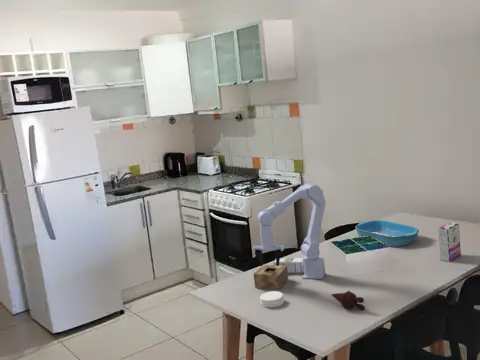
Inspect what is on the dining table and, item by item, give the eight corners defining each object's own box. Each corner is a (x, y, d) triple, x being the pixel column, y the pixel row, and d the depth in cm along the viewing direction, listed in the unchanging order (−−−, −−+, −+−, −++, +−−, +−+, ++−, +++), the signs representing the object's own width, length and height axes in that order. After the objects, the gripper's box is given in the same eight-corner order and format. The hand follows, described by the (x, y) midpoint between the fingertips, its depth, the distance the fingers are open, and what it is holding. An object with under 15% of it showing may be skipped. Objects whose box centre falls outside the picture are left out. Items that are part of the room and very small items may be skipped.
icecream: (325, 292, 207) (358, 303, 197) (335, 282, 212) (368, 292, 202) (328, 306, 210) (360, 317, 200) (337, 295, 215) (370, 306, 205)
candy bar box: (451, 253, 252) (449, 221, 249) (461, 255, 248) (459, 222, 245) (439, 260, 245) (437, 227, 242) (449, 262, 241) (448, 228, 238)
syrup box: (274, 273, 253) (303, 273, 249) (273, 262, 252) (302, 261, 248) (276, 269, 259) (305, 268, 254) (275, 257, 257) (304, 257, 253)
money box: (288, 279, 243) (286, 265, 242) (279, 289, 233) (277, 275, 232) (264, 278, 248) (263, 264, 247) (255, 287, 238) (253, 273, 237)
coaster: (267, 310, 213) (266, 302, 212) (256, 302, 222) (256, 294, 222) (288, 303, 217) (287, 296, 216) (277, 296, 226) (276, 288, 225)
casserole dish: (428, 240, 275) (427, 227, 274) (399, 251, 264) (398, 238, 263) (375, 229, 306) (375, 217, 305) (348, 238, 295) (347, 226, 294)
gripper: (284, 234, 238) (287, 262, 240) (254, 234, 243) (257, 262, 245) (280, 238, 232) (283, 267, 234) (249, 239, 236) (253, 267, 239)
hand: (269, 265), depth 239 cm, fingers open, 7 cm apart
